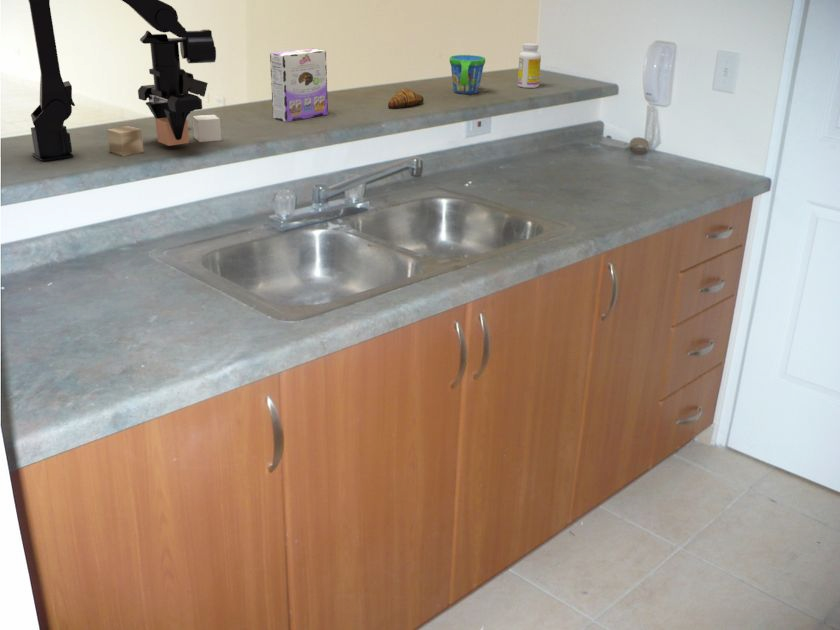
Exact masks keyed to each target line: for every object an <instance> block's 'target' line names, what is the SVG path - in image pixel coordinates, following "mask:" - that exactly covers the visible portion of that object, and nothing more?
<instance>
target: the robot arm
mask: <svg viewBox="0 0 840 630" xmlns="http://www.w3.org/2000/svg"><path fill="white" fill-rule="evenodd" d="M121 1H122V2H123V3H125V4H126V5H128V6H129V7H130V8H131V9H132V10H133V11H134V12H136V14H137V15H138V16H139V17H141V18H142V19H143V20H144V21H145V22H146V23H147V24H148V25H149V26H151V27H152V28H153V29H155V30H156V31H158V32H160V33H158V34H157V33H154V34H153V33H152V32H151V31H149V30H146V31H145V33H144V35H142V36H141V37H140V39H139V41H140V42H141V43H143V44H145V45H146V44H148V45H149V44H150V45H149V46H150V55H151V64H152V65H151V66H152V68H149V71H148V72H149V74H150V75H152V76H153V84H147V85H140V87H138V90H137V94H138V100H142V101H147V99H148V101H147V102H145V105H146V106H147V107H148V109H149V110H150V112H151V113H152V115H153V117H154V119H155V120H156V119H158V118H166V117H167V118H168V121H169V124H170V126H171V129H172V131H173V134H174V136H175V138H176V140H180V139H181V138H182V134H183V129H184V125H185V121H186V118H187V115H188V116H189V114H191V113H192V112H194V111H197V110H199V111H200V110H203V99H202V98H201V97H205V96H206V91H207V87H208V84H209V83H208V82H206V81H203V80H199V79H196V78H194V74H193V73H191V72H187V71H186V70H185V69H183V68H181V60H180V59H181V58H182V60H186V63H187V64H203V63H209V64H211V63H216V59H217V48H216V46H215V41H214V38H213V35H212V34H213V33H212V32H213V31H212V30H210V29H209V28H207V29H201V30H186V28H185V27H184V26H183V25H182V24H181V22H180V21H179V16H178V12H177V11H176V8H174V7H173V6H172V5H170V4H168V3H166V2H164V1H161V0H121ZM28 4H29V11H30V14H31V15H30V16H31V22H32V28H33V34H34V40H35V46H36V51H37V52H36V53H37V59H38V64H39V70H40V82H39V105H38V106H37V107H36V108H35V109H34V110H33V111H32V113H31V114H30V117H31V120H32V125H33V126H34V127H33V126H32V127H30V131H31V138H32V145H33V150H34V152H32V153H31V156H33V158H36V159H38V160H40V161H41V162H47V161H55V160H61V159H68V158H74V154H73V153H72V152H73V148H72V140H71V133H69V132H68V129H67V126H66V125H64V123H65V121H67V120H68V119H69V118H70V116H71V115H72V111H73V107H75V106H76V104H75V102H74V101H73V94H72V93H73V86H72V84H71V82H70V81H69V80H68V81H64V79H63V78H62V75H61V70H60V68H61V67H60V63H59V62H60V61H59V58H58V57H59V56H58V50H57V49H58V48H57V44H56V43H57V42H56V37H55V31H54V24H53V18H52V13H51V12H52V11H51V6H50V5H51V4H50V0H28ZM167 33H171V34H172V35H175V36H176V37H178V38H174V37H173V38H170V37H168V35H167ZM180 55H181V58H180ZM181 94H182V95H181ZM72 106H73V107H72Z"/></svg>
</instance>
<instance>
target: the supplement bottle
mask: <svg viewBox="0 0 840 630" xmlns="http://www.w3.org/2000/svg"><path fill="white" fill-rule="evenodd" d="M522 48H523V51H522V52H520V53H519V56H518V71H517V72H518V74H517V85H518V88H524V89H535V88H538V87H539V85H540V76H541V75H540V74H541V73H540V72H541V61H542V60H541V57H542V55H541V53H540V52H539V51H538V49H539V44H538V43H530V42H529V43H528V42H524V43H523V44H522Z"/></svg>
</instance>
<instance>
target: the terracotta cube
mask: <svg viewBox="0 0 840 630" xmlns="http://www.w3.org/2000/svg"><path fill="white" fill-rule="evenodd" d="M155 126H156V128H155V129H156V135H157V136H156V137H157V142H158V143H161V144H162V145H166V146H169V147H170V146H176V145H182V144H183V145H184V144H189V143H190V138H189V137H190V136H189V135H190V134H189V122H187V120H186V121H185V125H184V129H183V134H182V138H181V139H180V140H176V138H175V136H174V134H173V131H172V129H171V126H170V124H169V121H168V118H167V117H166V118H158V119H155Z"/></svg>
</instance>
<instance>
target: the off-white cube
mask: <svg viewBox="0 0 840 630" xmlns="http://www.w3.org/2000/svg"><path fill="white" fill-rule="evenodd" d="M192 124H193V125H192V126H193V136H194V139H196V140H197V141H198V142H199V143H203V142H204V143H205V142H206V143H207V142H214V141H215V142H218V141H222V132H221V130H222V129H221V119H220V117H218V116H217V115H215V114H206V115H205V114H204V115H202V114H201V115H193V116H192Z"/></svg>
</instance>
